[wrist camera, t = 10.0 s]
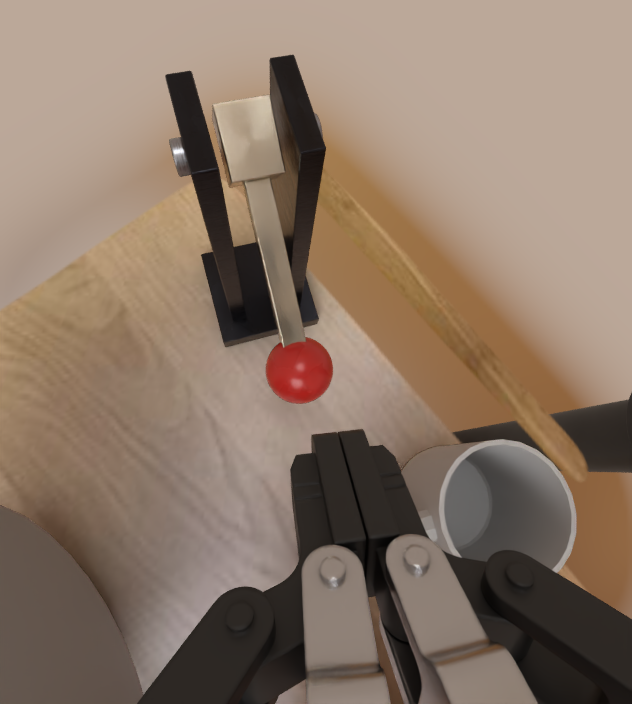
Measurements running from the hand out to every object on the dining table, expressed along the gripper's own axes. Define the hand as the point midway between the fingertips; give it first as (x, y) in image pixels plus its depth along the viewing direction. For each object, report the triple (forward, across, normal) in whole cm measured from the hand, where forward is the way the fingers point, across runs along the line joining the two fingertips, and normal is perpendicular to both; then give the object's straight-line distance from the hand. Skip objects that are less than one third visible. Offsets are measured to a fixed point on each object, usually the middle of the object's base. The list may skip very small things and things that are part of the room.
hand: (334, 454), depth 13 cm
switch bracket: (+22, +2, +4) cm, 22 cm away
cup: (+10, -8, +16) cm, 21 cm away
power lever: (+11, +1, -2) cm, 11 cm away
